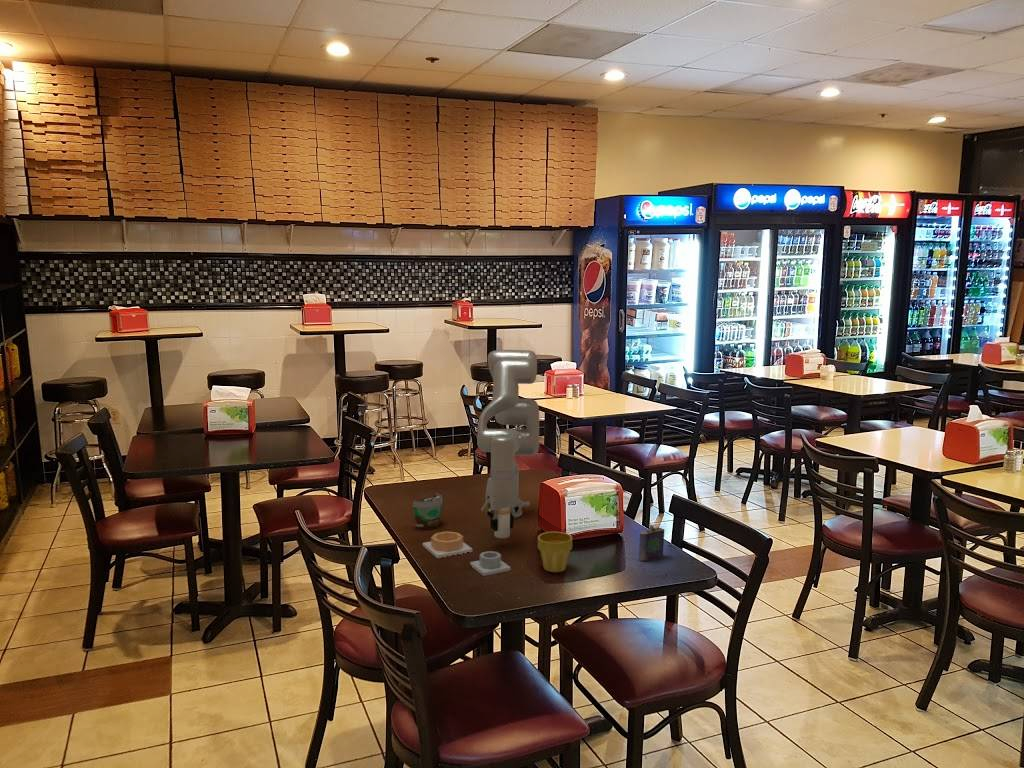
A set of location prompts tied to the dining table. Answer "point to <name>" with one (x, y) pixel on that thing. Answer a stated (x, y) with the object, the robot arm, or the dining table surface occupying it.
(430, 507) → the food container
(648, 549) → the flask
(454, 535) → the wide socket
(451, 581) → the dining table surface
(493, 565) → the narrow socket
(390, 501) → the dining table surface
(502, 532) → the beige peg
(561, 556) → the plant pot
